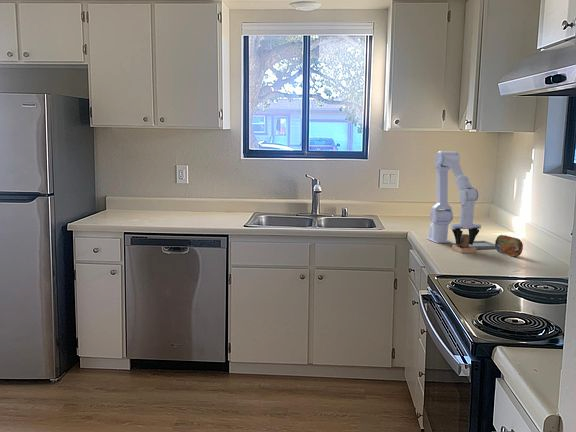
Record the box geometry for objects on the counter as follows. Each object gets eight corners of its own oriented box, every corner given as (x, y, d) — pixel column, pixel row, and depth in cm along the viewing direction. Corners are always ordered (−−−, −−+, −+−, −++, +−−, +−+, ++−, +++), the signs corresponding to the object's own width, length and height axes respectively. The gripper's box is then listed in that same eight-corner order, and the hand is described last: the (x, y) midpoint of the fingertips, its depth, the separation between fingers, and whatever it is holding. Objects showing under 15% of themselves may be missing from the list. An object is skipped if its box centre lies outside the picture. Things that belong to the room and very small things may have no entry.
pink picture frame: (451, 249, 263) (452, 245, 263) (466, 248, 265) (466, 244, 265) (461, 253, 256) (461, 248, 256) (475, 252, 258) (476, 248, 258)
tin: (493, 251, 263) (495, 233, 262) (499, 250, 264) (501, 233, 263) (517, 258, 249) (519, 239, 248) (523, 258, 250) (525, 239, 249)
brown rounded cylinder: (457, 250, 262) (458, 234, 261) (465, 249, 263) (466, 233, 262) (462, 252, 258) (463, 235, 257) (470, 251, 259) (471, 235, 258)
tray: (458, 244, 275) (458, 241, 275) (484, 243, 279) (485, 240, 279) (471, 249, 265) (471, 246, 264) (498, 248, 269) (498, 245, 268)
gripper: (457, 216, 252) (455, 246, 254) (486, 216, 256) (483, 246, 258) (449, 214, 259) (446, 243, 261) (476, 213, 263) (474, 242, 265)
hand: (464, 244), depth 260 cm, fingers open, 6 cm apart
